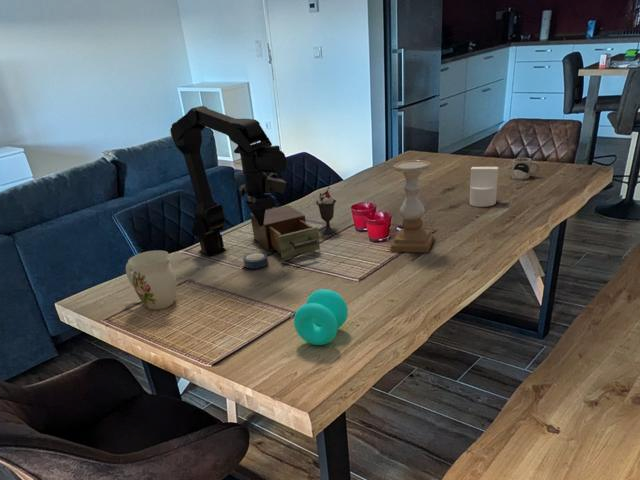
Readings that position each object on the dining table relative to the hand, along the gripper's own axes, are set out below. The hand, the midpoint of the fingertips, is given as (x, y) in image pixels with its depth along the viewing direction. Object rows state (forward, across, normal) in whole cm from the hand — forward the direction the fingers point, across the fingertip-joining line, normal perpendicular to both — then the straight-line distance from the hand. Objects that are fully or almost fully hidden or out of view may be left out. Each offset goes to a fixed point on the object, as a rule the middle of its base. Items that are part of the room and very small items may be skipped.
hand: (261, 225), depth 162 cm
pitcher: (+12, -10, +34) cm, 37 cm away
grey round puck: (+12, 0, +3) cm, 12 cm away
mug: (+12, +29, -114) cm, 118 cm away
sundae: (+12, +16, -26) cm, 33 cm away
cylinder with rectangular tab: (+12, +11, -83) cm, 84 cm away
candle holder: (+12, -11, -43) cm, 46 cm away
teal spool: (+12, -50, +1) cm, 51 cm away
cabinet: (+12, +18, -10) cm, 23 cm away
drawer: (+11, +4, -11) cm, 16 cm away
